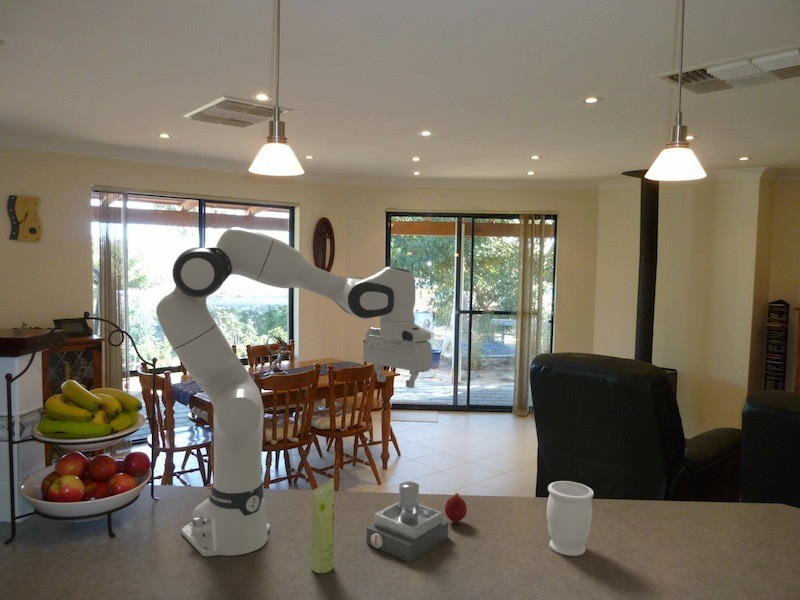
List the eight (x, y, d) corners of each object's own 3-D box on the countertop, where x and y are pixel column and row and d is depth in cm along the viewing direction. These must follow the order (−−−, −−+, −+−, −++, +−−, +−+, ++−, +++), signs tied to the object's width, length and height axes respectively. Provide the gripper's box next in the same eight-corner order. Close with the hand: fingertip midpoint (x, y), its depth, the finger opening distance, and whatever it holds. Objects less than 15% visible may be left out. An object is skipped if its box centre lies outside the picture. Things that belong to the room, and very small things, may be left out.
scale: (364, 544, 141) (364, 528, 141) (406, 521, 155) (407, 506, 154) (406, 563, 133) (407, 546, 133) (447, 537, 146) (448, 521, 146)
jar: (592, 544, 145) (595, 485, 144) (587, 563, 136) (590, 501, 135) (549, 534, 150) (552, 477, 148) (541, 552, 140) (544, 491, 139)
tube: (335, 574, 128) (336, 488, 127) (311, 576, 127) (313, 489, 125) (332, 561, 134) (333, 478, 132) (309, 563, 132) (311, 479, 131)
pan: (373, 524, 143) (374, 513, 143) (404, 509, 152) (404, 498, 152) (412, 540, 136) (413, 529, 135) (442, 523, 145) (442, 512, 145)
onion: (465, 528, 151) (466, 499, 151) (443, 526, 152) (444, 496, 152) (467, 519, 157) (468, 490, 156) (445, 516, 158) (446, 487, 157)
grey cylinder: (394, 521, 144) (395, 485, 143) (406, 514, 147) (407, 480, 147) (409, 527, 141) (410, 491, 140) (421, 520, 144) (422, 485, 144)
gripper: (358, 327, 153) (357, 379, 154) (421, 336, 140) (419, 393, 141) (374, 325, 158) (373, 376, 159) (436, 334, 145) (434, 388, 146)
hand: (395, 384), depth 150 cm, fingers open, 8 cm apart
